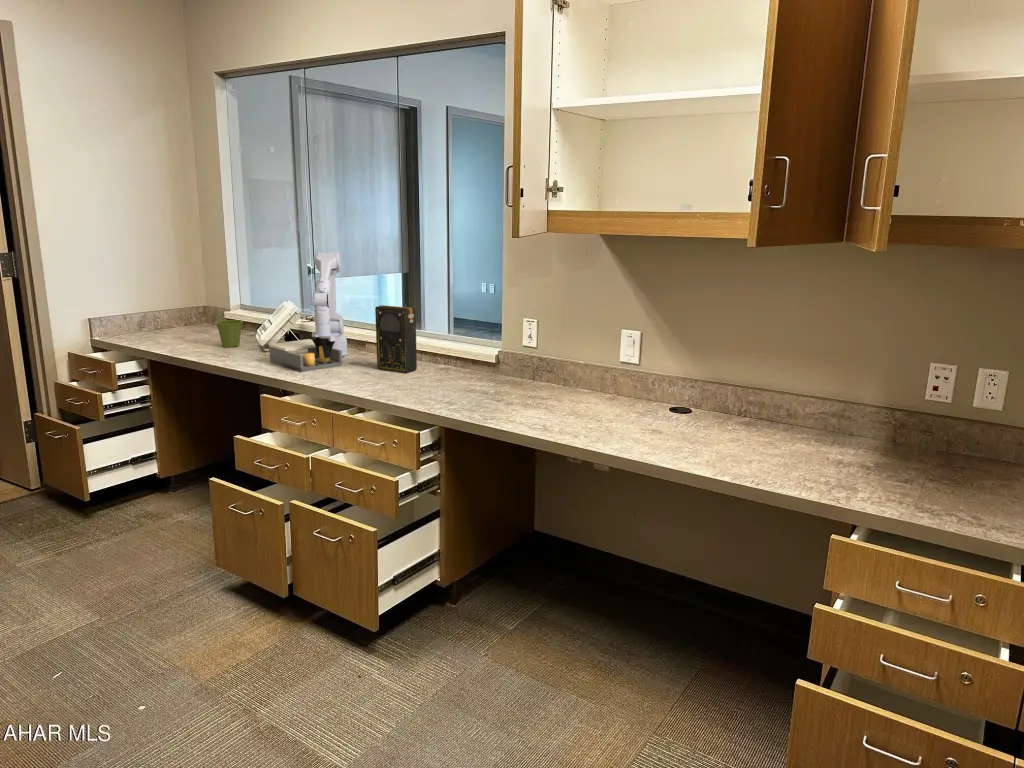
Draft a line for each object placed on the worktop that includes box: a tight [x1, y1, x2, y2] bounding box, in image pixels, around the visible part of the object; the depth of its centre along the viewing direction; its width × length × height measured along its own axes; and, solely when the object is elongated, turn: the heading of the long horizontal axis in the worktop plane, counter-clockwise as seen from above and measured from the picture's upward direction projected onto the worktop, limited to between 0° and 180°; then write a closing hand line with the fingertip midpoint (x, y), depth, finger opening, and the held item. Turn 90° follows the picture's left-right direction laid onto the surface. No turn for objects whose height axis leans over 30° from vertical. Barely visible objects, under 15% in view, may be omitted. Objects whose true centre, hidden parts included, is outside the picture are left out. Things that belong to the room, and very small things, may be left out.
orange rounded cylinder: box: [303, 352, 315, 367], centre depth 286 cm, size 4×4×6 cm
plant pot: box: [214, 319, 244, 348], centre depth 331 cm, size 12×12×11 cm
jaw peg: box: [319, 346, 330, 362], centre depth 290 cm, size 4×4×6 cm
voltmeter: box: [374, 304, 418, 374], centre depth 283 cm, size 16×9×25 cm, turn 60°
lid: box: [268, 338, 316, 352], centre depth 298 cm, size 18×14×2 cm
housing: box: [268, 346, 343, 373], centre depth 295 cm, size 18×26×6 cm
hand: (324, 356), depth 290 cm, fingers closed on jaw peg, 4 cm apart
